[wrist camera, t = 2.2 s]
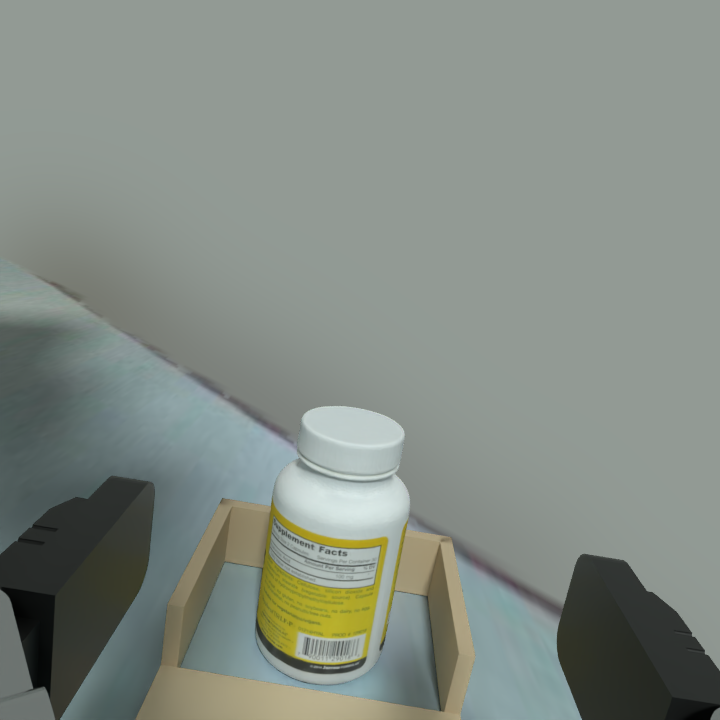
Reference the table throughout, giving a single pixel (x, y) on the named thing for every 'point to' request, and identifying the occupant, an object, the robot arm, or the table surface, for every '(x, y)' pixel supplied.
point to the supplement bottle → (333, 547)
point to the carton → (287, 703)
